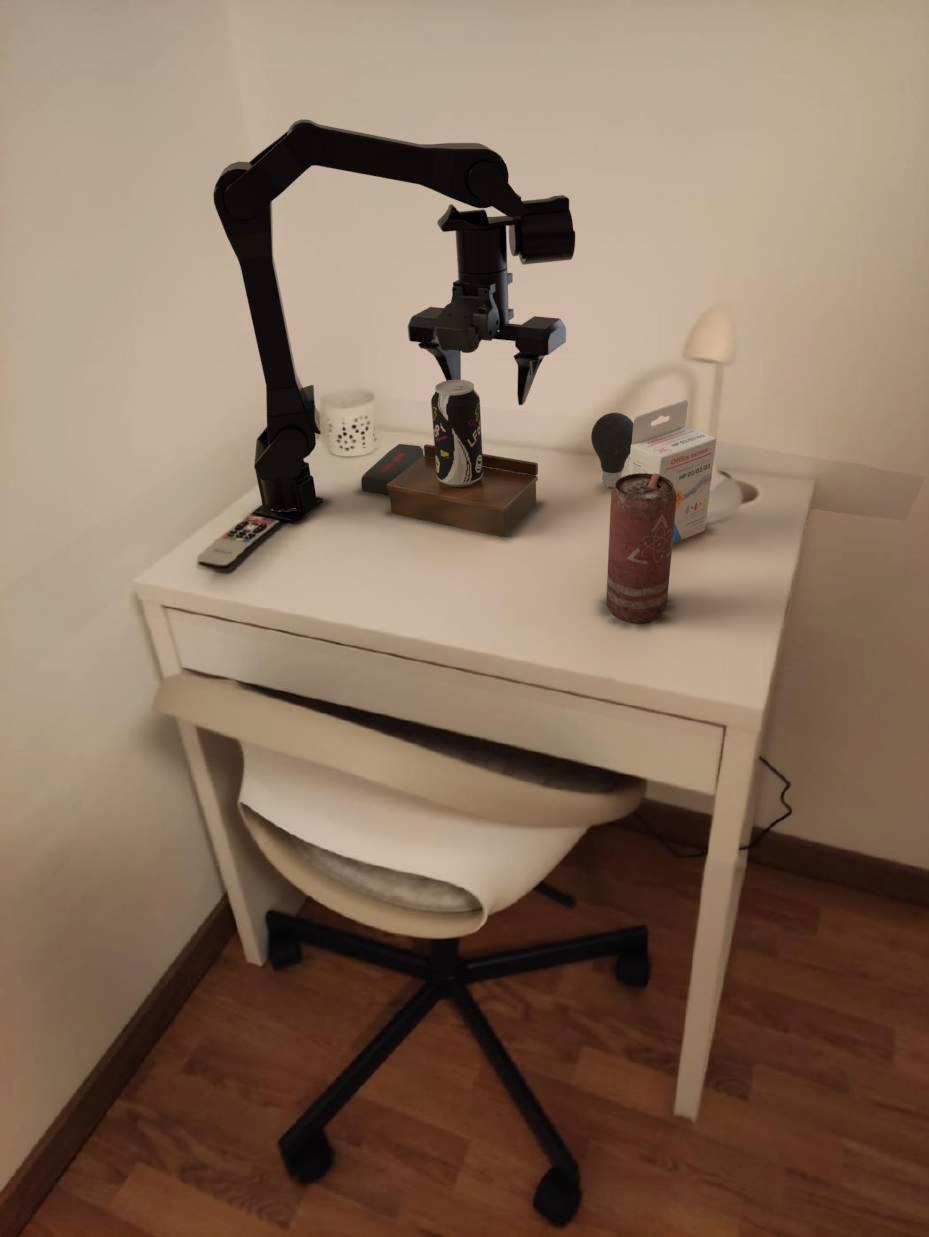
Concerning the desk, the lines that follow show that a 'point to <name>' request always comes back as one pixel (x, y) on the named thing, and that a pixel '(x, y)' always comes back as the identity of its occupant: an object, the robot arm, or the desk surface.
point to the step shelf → (467, 494)
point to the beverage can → (457, 433)
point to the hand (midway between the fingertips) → (488, 399)
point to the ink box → (676, 463)
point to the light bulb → (612, 445)
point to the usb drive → (391, 467)
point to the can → (640, 546)
